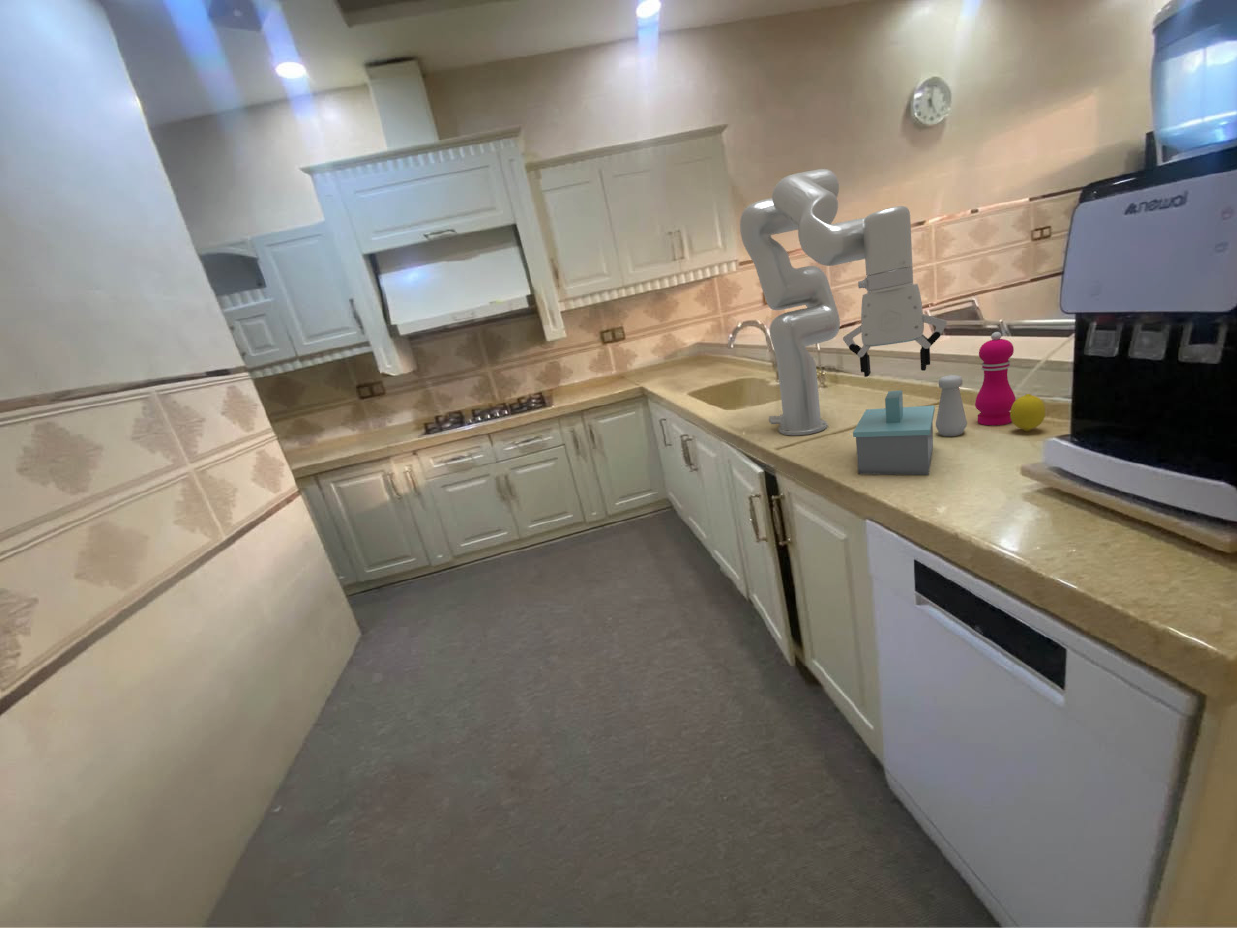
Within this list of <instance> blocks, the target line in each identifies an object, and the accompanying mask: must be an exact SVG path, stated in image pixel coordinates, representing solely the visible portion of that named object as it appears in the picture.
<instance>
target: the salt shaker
mask: <svg viewBox="0 0 1237 928" xmlns="http://www.w3.org/2000/svg"><path fill="white" fill-rule="evenodd" d="M962 386H963V377H962V376H960V375H955V374H950V375H945V376H942V377H940V378H939V379H938V387H939V388H940V389H941V393H940V398H939V404H938V409H937V414H936V420H935V428H936V429H937V431H938V433H939V435H940V436H943V437H959V436H961V435H962V434H963V433H964V432H965V429H966V428H967V424H968V421H967V418H966V412H965V409H964V404H963V399H962V396H961V390H960V387H962Z"/></svg>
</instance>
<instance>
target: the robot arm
mask: <svg viewBox="0 0 1237 928" xmlns="http://www.w3.org/2000/svg"><path fill="white" fill-rule="evenodd" d="M837 177H838V176H837V175H836V173H834V172H833V171H831V170H830V169H828V168H827V169H826V168H819V169H814V170H809V171H802V172H797V173H794V174H790V175H786V176H785V177H783V178H781V179H780V180H779V181H778V182H777V184H776V185H775V187H774V188H773V190H772V194H771V197H770V198H764V199H761V200H758V201H755V202H753V203H751V204H749V205H748V206H747V207H745V209H744V210H743V211H742V212H741V213H742V214H741V215H740V221H739V231H740V237H741V241H742V244H743V246H744V248H745V250H746V252H747V255H748V256H749V257H750V259H751V261H752V262H753V265H754V267H755V269H756V273H757V277H758V280H759V283H760V286H761V289H762V292H763V295H764V300H765V302H766V304H767V306H768V307H769V309H771V310H772V311H783V310H787V309H792V308H793V309H794V308H797V307H802V306H806V307H805V308H800V309H795V310H791V311H787V312H784V313H782V314H779V315H777V316H776V317H775V318H774V319H773V320H772V321H771V323H770V326H769V337H770V340H771V343H772V347H773V350H774V354H775V359H776V364H777V365H776V366H777V373H778V374H777V375H778V382H779V392H780V400H781V409H782V414H779V415H770V416H768V422H769V423H770V424H771V425H776V424H778V425H779V426H778V433H780V434H781V435H786V436H804V435H805V436H807V435H811V434H817V433H820V432H823V430H826V429H827V428H828V422H827V420H825V419H823V418H821V408H820V406H821V405H820V397H819V395H820V394H819V384H818V383H819V382H818V372H817V365H816V360H815V358H814V357H813V356H812V355H811V353H810V352H809V351H808V350H807V347H809V346H812V345H816V344H820V343H825V342H828V341H830V340H831V341H832V339H834V338H836V336H837V335H838V333H839V331H840V327H841V326H840V325H841V321H840V320H841V319H840V315H839V312H838V308H837V305H836V302H835V299H834V295H833V293H832V290H831V285H830V283H829V279H828V277H827V275H826V273H825V272H824V271H823V270H822V269H821V268H820V267H818V266H815V265H808V266H801V267H798V268H795V267H794V266H793V265H792V262H791V259H790V256H789V254H788V252H787V250H786V249H785V248H784V246H783V245H782V244H781V243H779V242H778V241H777V240H775V239H774V238H772V235H778V234H783V233H787V232H789V233H790V232H792V231H797V233H798V240H799V241H798V242H799V245H800V248H801V250H802V251H803V252H804V253H805V255H807V256H808V257H809V258H811V259H812V260H813V261H814V262H816V263H817V264H820V265H822V266H826V267H832V266H838V265H843V264H847V263H852V262H856V261H857V262H858V261H861V260H862V261H863V260H864V262H865V263H864V265H865V278H864V279H862V280H859V281H857V286H858V289H865V290H866V291H867V293H864V294H863V295H862V296H861V297H862V298H861V306H860V307H861V308H860V309H861V311H860V313H861V314H860V317H861V318H860V320H861V322H860V323H861V324H860V325H859V326H857V327H856V328H855V329H853V330H852V331H850V332H848V333H847V334H846V335H844V336H843V337H842V340H843V342H844V344H845V345H846V346H847V347H848V349H849V350H850V351H851V352H853V354H855V355H857V357H858V358H859V365H860V366H859V367H860V372H861V373H863V377H864V378H865V377H866V378H867V377H869V376H870V375H871V372H872V371H871V360H870V359H871V358H870V354H868V351H870V349H871V348H872V347H881V346H888V345H894V344H895V345H896V344H901V343H910V342H914V341H915V342H916V343H918V344H919V345H920V346H921V348H920V350H919V354H920V355H919V357H920V359H919V360H920V371H922V372H923V371H926V370H927V366H930V365H931V350H930V348H931V347H932V346H933V345H934V344H935V343H936V341H937V340H939V339H940V337H941V335H942V334H943V332H944V330H945V328H946V326H947V325H948V322H947V320H946V319H942V318H938V317H934V316H932V315H928V314H924V309H923V303H922V297H921V291H920V288H919V284H918V283H914V274H913V273H914V271H913V251H912V249H913V247H912V245H913V244H912V227H911V225H912V224H911V211H910V209H909V208H908V207H907V206H903V205H898V206H893V207H889V208H885V209H882V210H878V211H875V212H873V213H871V214H869V215H867V216H866V217H863V218H856V219H851V220H850V219H849V220H847V221H840V222H837V223H833V221H834V219H835V218H836V216H837V213H838V209H839V202H838V199H837V198H838V196H839V191H840V185H839V179H838V178H837ZM832 223H833V224H832ZM925 324H928V325H931V326H934V327H935V329H934V332H933V333H932V334H931V335H930V336H929V337H927V336H925V334H924V330H925ZM859 334H861V342H862V345H863V346H859V345H858V344H857V343H856V342H855V340H854V339H855V337H856V336H858V335H859Z"/></svg>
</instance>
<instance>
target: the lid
mask: <svg viewBox="0 0 1237 928" xmlns="http://www.w3.org/2000/svg"><path fill="white" fill-rule="evenodd" d="M903 397H904V396H903V390H902V389H901V390H890V391H889V390H888V392H887V393H886V396H885V398H884V403H885V404H884V405H885V408H884V407H883V408H868V409H865V411H864V412H863V414H862V416H861V417H860V419H859V421H858V423H857V424H856V426H855V428H854V430H853V432H852V437H853V438H856V437H877V436H912V435H930V433H931V427H932V422H933V421H934V416H935V411H936V407H935V405H920V406H919V405H916V406H904V399H903Z"/></svg>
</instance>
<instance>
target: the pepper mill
mask: <svg viewBox="0 0 1237 928" xmlns="http://www.w3.org/2000/svg"><path fill="white" fill-rule="evenodd" d="M990 338H991V340H988V341H986V342H984V343H983V344H982V345H981V346H980V348H979V351H978V357H979V359H980V360H982V362H981V370H982V371H983V381H982V385H981V387H980V389H979V391H978V393H977V394H976V398H975V403H974V405H975V406H974V407H975V409H976V410H978V412H979V413H978V414H977V423H978V424H980V425H981V426H982V425H983V426H1003V425H1008V424H1010V423H1012V420H1011V417H1010V411H1011V407H1012V405H1013V403H1014V402H1015V401H1016V400H1017V398H1016V394H1015V392H1014V391H1013V389H1012V388H1011V385H1010V383H1009V377H1008V370H1009V368H1011V364H1010V363H1011V361H1010V360H1009V359H1010V358H1011V357H1012V356H1013V355H1014V352H1015V348H1014V345H1013V343H1012V342H1011V341H1009V340H1007V339H1005V338H1002V333H1001V332H1000V331H995V332H993V333H992V334H991V335H990Z"/></svg>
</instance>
